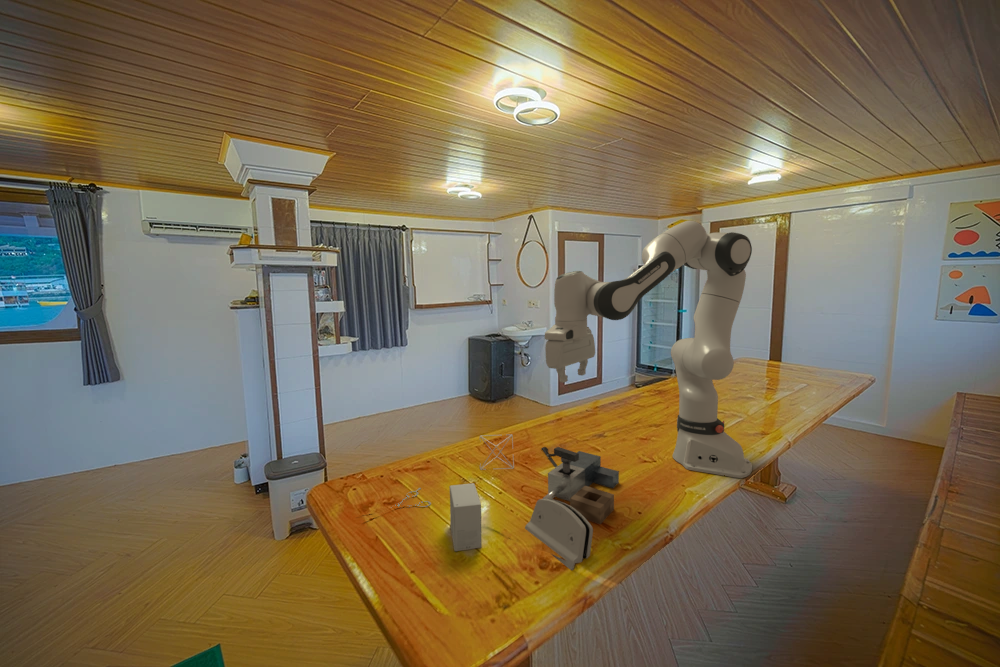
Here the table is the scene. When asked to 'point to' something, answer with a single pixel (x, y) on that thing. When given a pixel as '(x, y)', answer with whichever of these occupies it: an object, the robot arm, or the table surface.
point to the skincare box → (465, 517)
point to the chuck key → (566, 458)
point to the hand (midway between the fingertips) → (572, 378)
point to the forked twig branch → (549, 456)
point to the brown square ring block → (593, 504)
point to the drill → (580, 477)
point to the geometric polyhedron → (499, 450)
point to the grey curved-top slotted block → (562, 530)
